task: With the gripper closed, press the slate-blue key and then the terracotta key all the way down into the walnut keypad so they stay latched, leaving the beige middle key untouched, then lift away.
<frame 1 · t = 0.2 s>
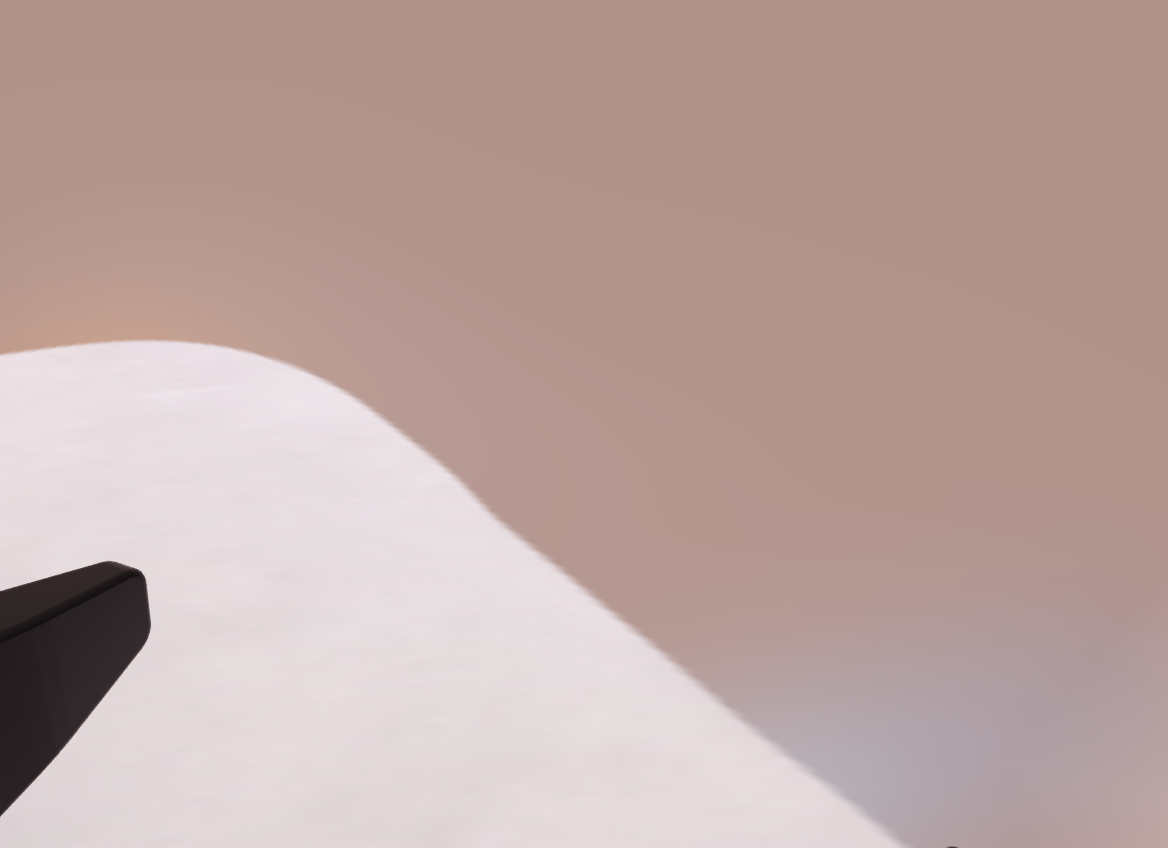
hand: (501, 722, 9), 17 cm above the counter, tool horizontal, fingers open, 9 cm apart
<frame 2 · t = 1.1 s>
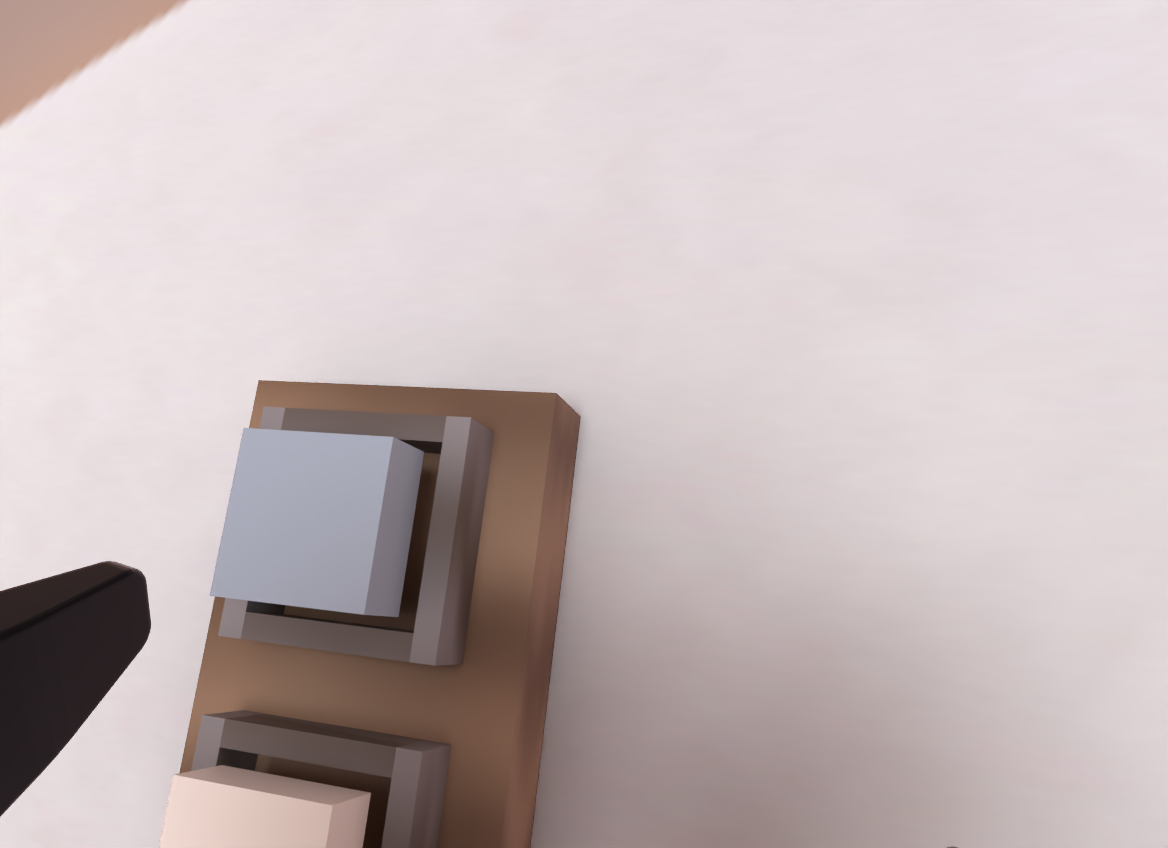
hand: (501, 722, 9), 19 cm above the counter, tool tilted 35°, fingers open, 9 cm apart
slate key: (320, 521, 25), point 6 cm above the counter, slide at 0.0 cm
keypad board: (371, 832, 29), on the counter
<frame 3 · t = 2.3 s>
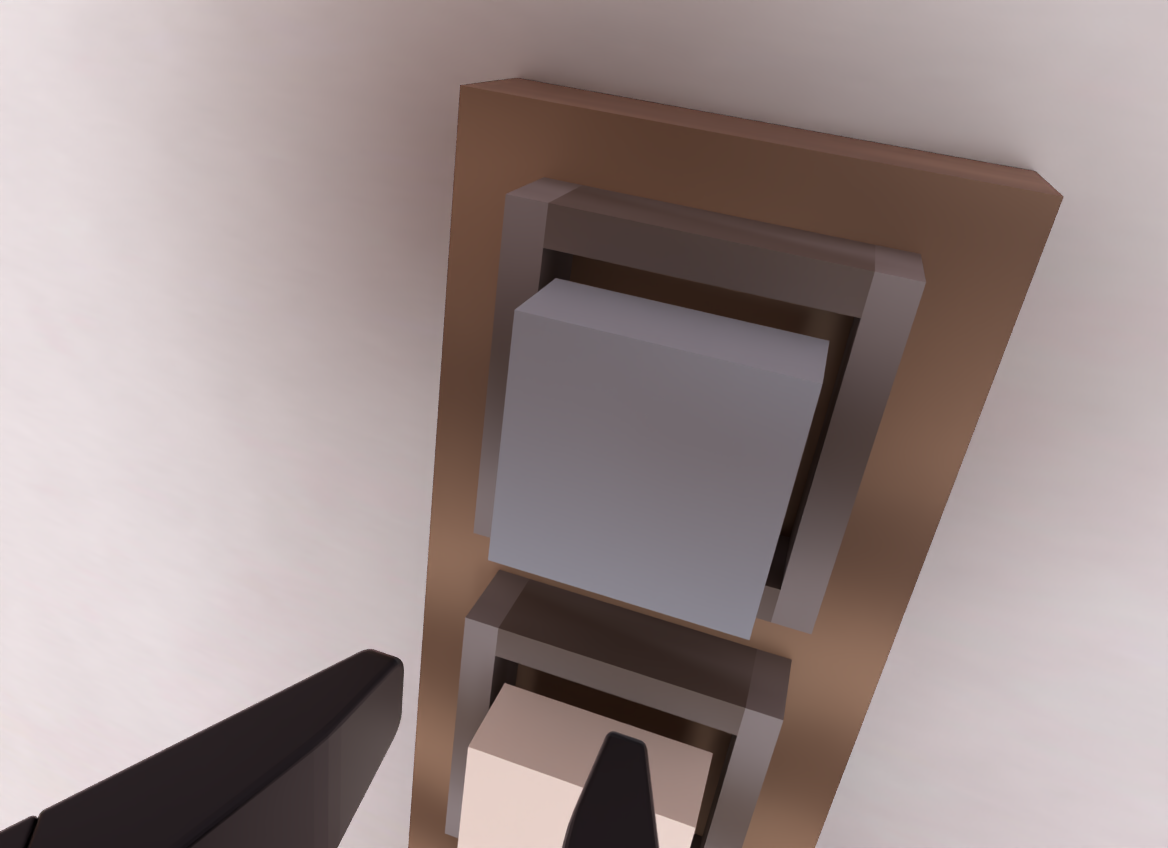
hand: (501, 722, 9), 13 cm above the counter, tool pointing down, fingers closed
beige key: (577, 827, 19), point 6 cm above the counter, slide at 0.0 cm
slate key: (650, 455, 15), point 6 cm above the counter, slide at 0.0 cm
keypad board: (644, 650, 25), on the counter
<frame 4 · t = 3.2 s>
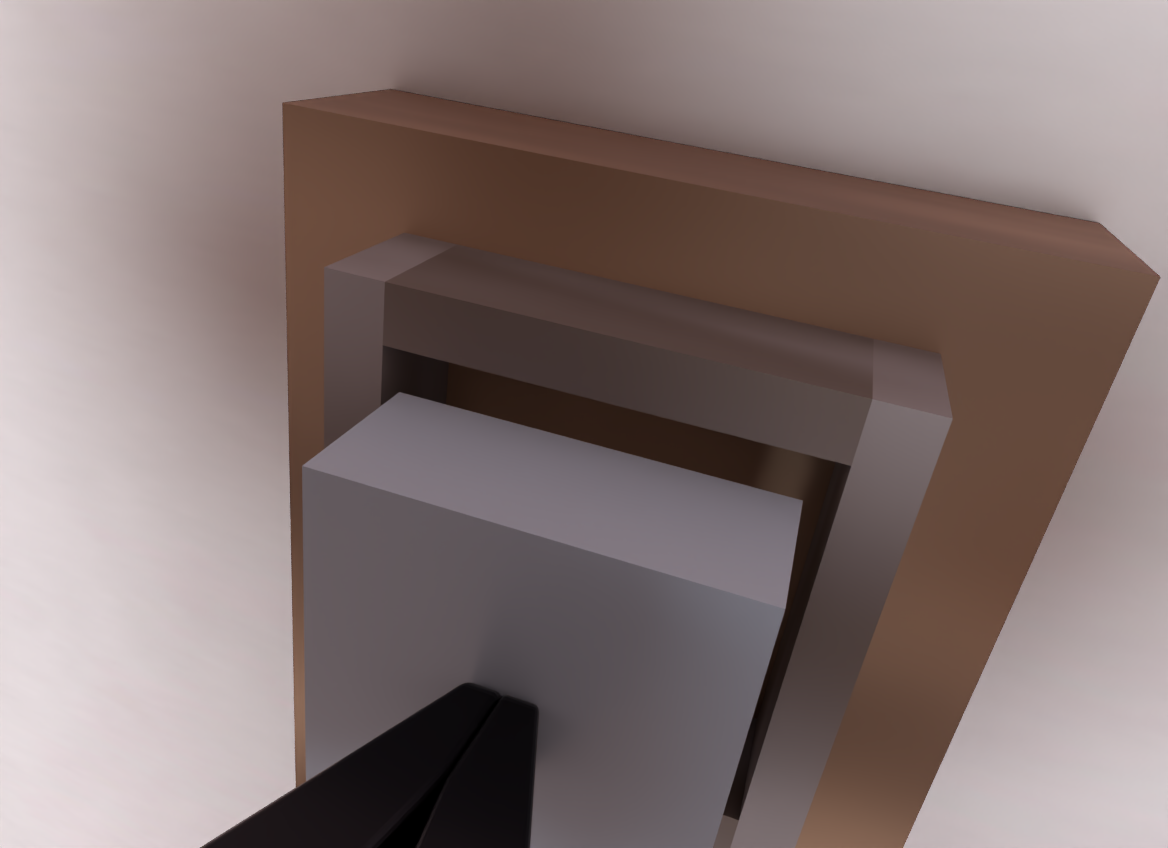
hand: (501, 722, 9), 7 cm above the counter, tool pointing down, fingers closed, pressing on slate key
slate key: (537, 661, 10), point 6 cm above the counter, slide at 0.0 cm, touching gripper
keypad board: (585, 803, 20), on the counter
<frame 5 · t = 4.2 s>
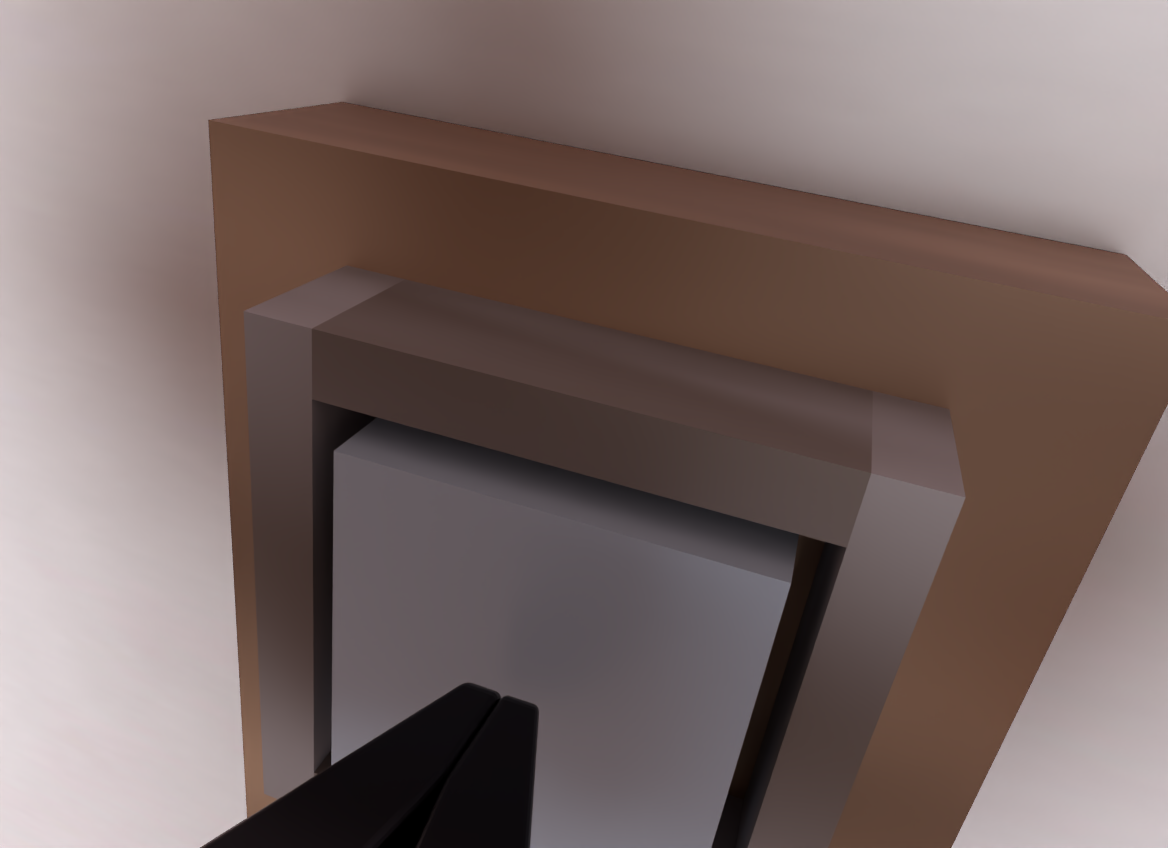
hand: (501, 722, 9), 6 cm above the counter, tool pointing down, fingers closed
slate key: (553, 639, 11), point 4 cm above the counter, slide at 2.1 cm
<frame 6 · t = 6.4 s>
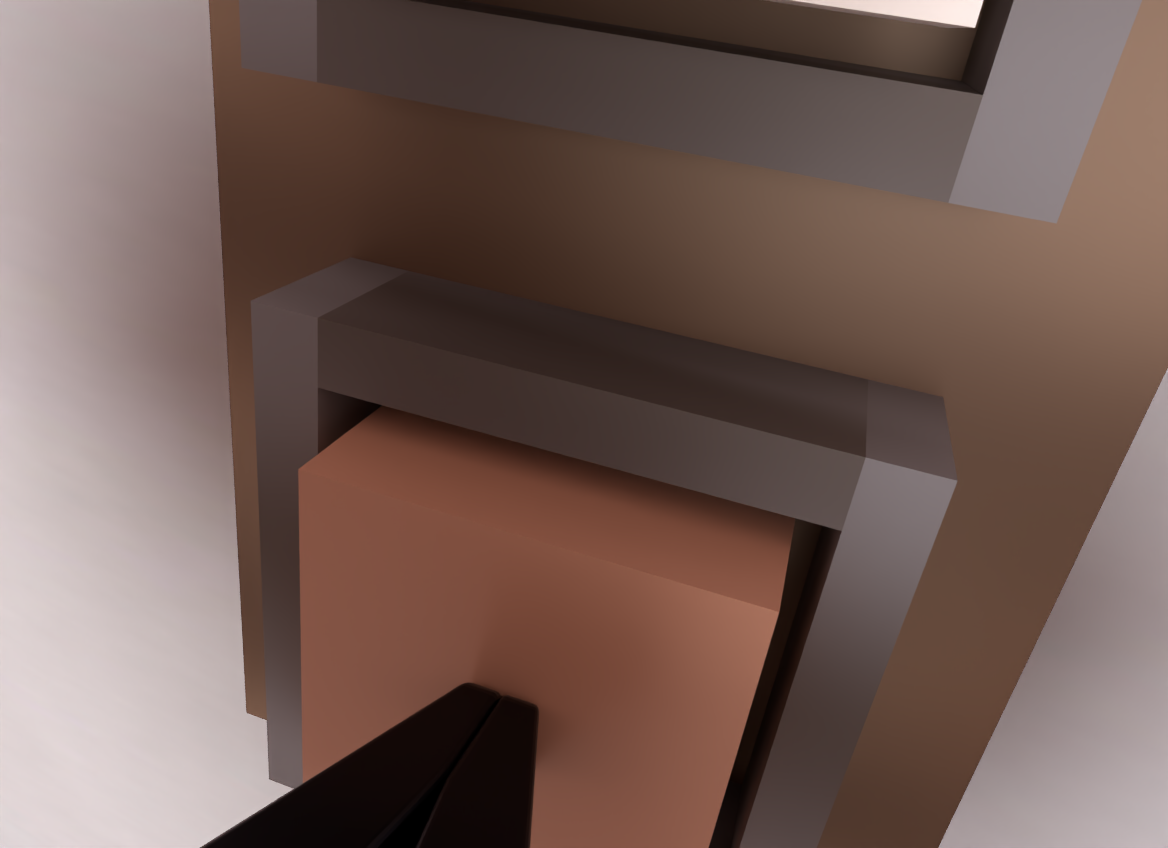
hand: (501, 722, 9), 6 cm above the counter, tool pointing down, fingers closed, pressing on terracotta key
terracotta key: (533, 663, 10), point 5 cm above the counter, slide at 1.3 cm, touching gripper
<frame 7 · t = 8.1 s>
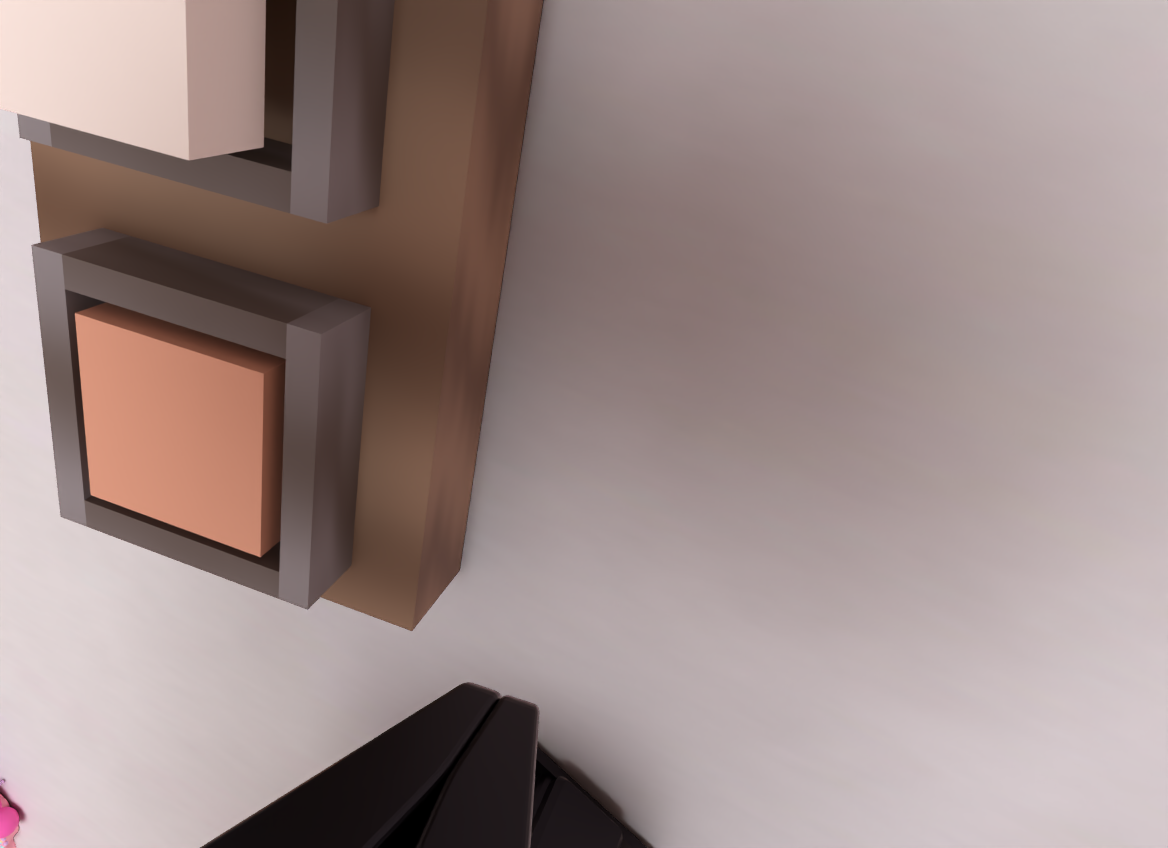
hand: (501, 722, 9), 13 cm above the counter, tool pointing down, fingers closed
terracotta key: (200, 422, 21), point 4 cm above the counter, slide at 2.1 cm
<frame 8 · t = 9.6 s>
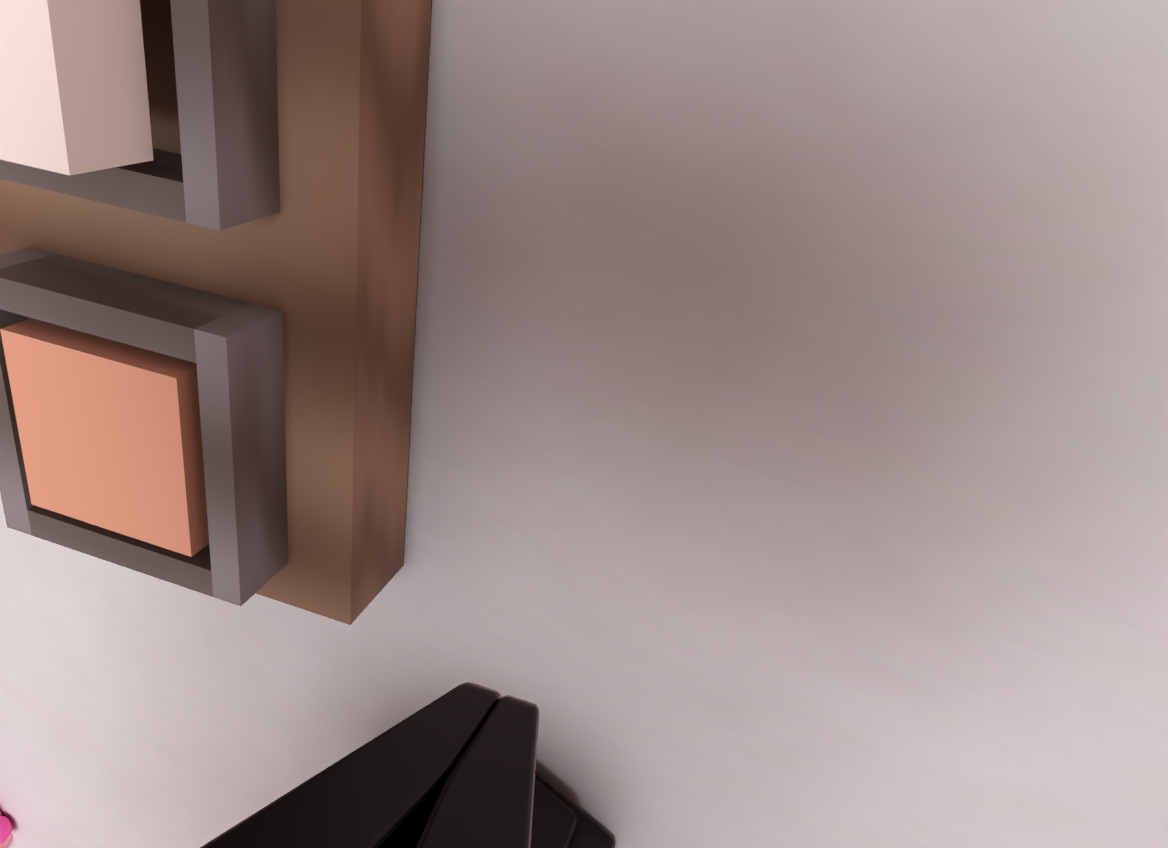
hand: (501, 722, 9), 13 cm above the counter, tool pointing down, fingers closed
terracotta key: (130, 429, 21), point 4 cm above the counter, slide at 2.1 cm
keypad board: (221, 10, 21), on the counter
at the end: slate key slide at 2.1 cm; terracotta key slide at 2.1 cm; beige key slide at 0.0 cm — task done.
